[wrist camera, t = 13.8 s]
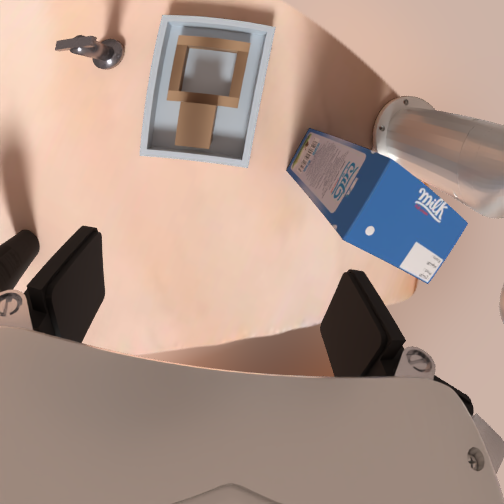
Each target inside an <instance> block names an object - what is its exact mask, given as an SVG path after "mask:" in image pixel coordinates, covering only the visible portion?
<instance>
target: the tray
mask: <svg viewBox="0 0 504 504" xmlns="http://www.w3.org/2000/svg"><path fill="white" fill-rule="evenodd" d="M275 28H276V27H272V26H267V25H262V24H256V23H250V22H244V21H237V20H230V19H221V18H212V17H200V16H182V15H162V19H161V23H160V27H159V31H158V36H157V40H156V45H155V50H154V55H153V60H152V65H151V71H150V77H149V83H148V89H147V95H146V102H145V110H144V118H143V126H142V135H141V146H140V156H151V157H162V158H173V159H183V160H192V161H200V162H209V163H216V164H224V165H231V166H238V167H245V168H248V165H249V159H250V154H251V148H252V143H253V138H254V133H255V127H256V122H257V117H258V112H259V106H260V101H261V96H262V91H263V86H264V81H265V76H266V71H267V66H268V61H269V56H270V52H271V47H272V42H273V37H274V32H275ZM179 35H186V36H199V37H210V38H219V39H227V40H235V41H241V42H248V43H251V44H250V49H249V54H248V58H247V63H246V68H245V73H244V78H243V83H242V88H241V93H240V99H239V104H238V108H231V107H224V106H218V108H217V114H216V120H215V126H214V132H213V138H212V143H211V145H210V148H209V149H204V148H196V147H187V146H177V145H175V138H176V130H177V123H178V116H179V109H180V103H181V102H180V101H167V94H168V88H169V82H170V76H171V71H172V66H173V60H174V55H175V50H176V46H177V41H178V37H179ZM236 57H237V54H236V53H229V52H222V51H213V50H203V49H192V48H189V53H188V58H187V63H186V68H185V74H184V79H183V85H182V90H181V91H184V92H194V93H204V94H212V95H220V96H228V97H229V93H230V87H231V82H232V77H233V72H234V67H235V62H236Z"/></svg>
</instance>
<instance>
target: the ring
mask: <svg viewBox="0 0 504 504" xmlns="http://www.w3.org/2000/svg"><path fill="white" fill-rule="evenodd" d="M250 44H251V43H248V42H241V41H235V40H227V39H219V38H210V37H199V36H186V35H179V37H178V41H177V46H176V50H175V55H174V60H173V66H172V71H171V76H170V82H169V88H168V94H167V101H180V102H181V103H180V109H179V116H178V123H177V130H176V138H175V145H177V146H187V147H196V148H204V149H209V148H210V145H211V143H212V138H213V132H214V126H215V120H216V114H217V108H218V106H224V107H231V108H238V104H239V99H240V93H241V88H242V83H243V78H244V73H245V68H246V63H247V58H248V54H249V49H250ZM189 48H192V49H203V50H213V51H222V52H229V53H236V54H237V57H236V62H235V67H234V72H233V77H232V82H231V87H230V93H229V97H228V96H220V95H212V94H204V93H194V92H184V91H181V90H182V85H183V79H184V74H185V68H186V63H187V58H188V53H189Z"/></svg>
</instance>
